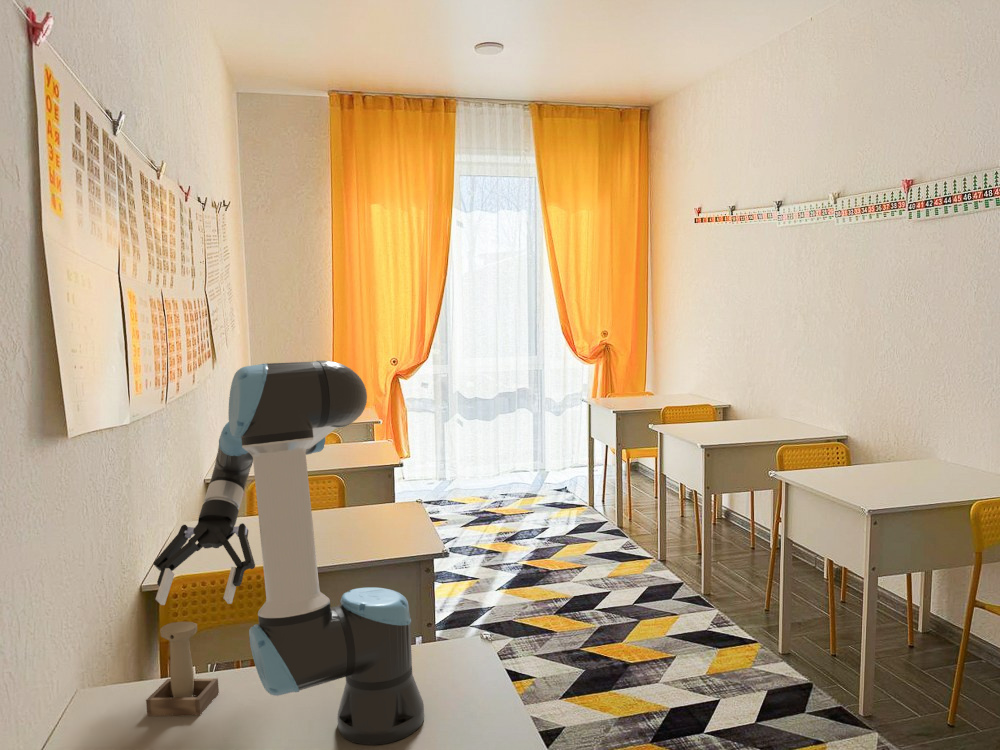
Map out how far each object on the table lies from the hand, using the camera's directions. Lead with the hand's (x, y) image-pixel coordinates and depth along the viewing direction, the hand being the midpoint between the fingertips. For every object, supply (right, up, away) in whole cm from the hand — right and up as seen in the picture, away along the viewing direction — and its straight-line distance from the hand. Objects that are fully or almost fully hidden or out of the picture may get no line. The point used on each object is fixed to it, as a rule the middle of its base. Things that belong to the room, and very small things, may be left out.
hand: (193, 601), depth 144 cm
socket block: (+1, -18, -6) cm, 18 cm away
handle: (+1, -18, -6) cm, 19 cm away
